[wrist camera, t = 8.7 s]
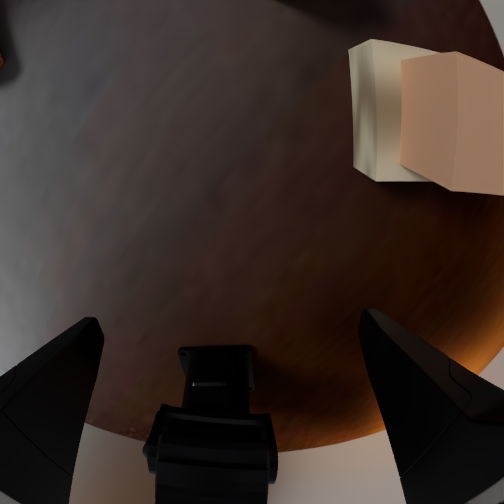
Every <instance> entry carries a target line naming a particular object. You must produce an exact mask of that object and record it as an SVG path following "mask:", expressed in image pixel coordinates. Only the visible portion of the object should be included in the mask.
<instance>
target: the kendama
mask: <svg viewBox="0 0 504 504" xmlns="http://www.w3.org/2000/svg"><path fill="white" fill-rule="evenodd" d="M3 65H4V60H3V58H2V55H1V53H0V68H1V67H2V66H3Z"/></svg>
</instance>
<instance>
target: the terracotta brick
mask: <svg viewBox="0 0 504 504" xmlns="http://www.w3.org/2000/svg"><path fill="white" fill-rule="evenodd" d="M401 84H402V113H401V141H400V158H399V164H400V165H402V166H404V167H406V168H408V169H410V170H412V171H414V172H416V173H418V174H420V175H422V176H424V177H426V178H428V179H430V180H432V181H434V182H436V183H437V184H439V185H441V186H443V187H445V188H447V189H448V190H450V191H460V192H473V193H485V194H495V195H504V72H503V71H501V70H499V69H497V68H495V67H492V66H490V65H488V64H486V63H483V62H481V61H479V60H476V59H474V58H471V57H469V56H466V55H464V54H461V53H459V52H449V53H441V54H434V55H427V56H421V57H415V58H409V59H404V60H401Z"/></svg>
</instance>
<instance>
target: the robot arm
mask: <svg viewBox="0 0 504 504" xmlns="http://www.w3.org/2000/svg"><path fill="white" fill-rule="evenodd" d="M358 333H359V338H360V342H361V346H362V351H363V355H364V360H365V364H366V368H367V372H368V376H369V379H370V382H371V384H372V387H373V390H374V393H375V396H376V399H377V402H378V405H379V409H380V412H381V415H382V418H383V421H384V424H385V428H386V431H387V434H388V436H389V441H390V444H391V447H392V451H393V454H394V458H395V462H396V465H397V468H398V472H399V476H400V477H401V478H400V481H401V484H402V488H403V492H404V496H405V500H406V504H504V390H503V389H501V388H499V387H497V386H495V385H494V384H492V383H490V382H488V381H487V380H485V379H483V378H481V377H479V376H478V375H476V374H474V373H473V372H471V371H469V370H468V369H466V368H465V367H463V366H462V365H460V364H458V363H457V362H456V361H454V360H453V359H451V358H449V357H448V356H447V355H445V354H444V353H442V352H441V351H439V350H438V349H436V348H435V347H433V346H432V345H430V344H429V343H427V342H426V341H424V340H423V339H421V338H420V337H418V336H417V335H415V334H414V333H412V332H411V331H409V330H408V329H406V328H405V327H403V326H402V325H400V324H399V323H397V322H396V321H394V320H393V319H391V318H390V317H388V316H387V315H385V314H384V313H382V312H381V311H379V310H378V309H376V308H367V309H364V310H363V311H362V315H361V319H360V324H359V328H358ZM103 345H104V334H103V332H102V330H101V327H100V325H99V322H98V320H97V319H96V318H95V317H85V318H83V319H82V320H80V321H79V322H77V323H76V324H74V325H73V326H71V327H70V328H68V329H67V330H66V331H64V332H63V333H61V334H60V335H58V336H57V337H55V338H54V339H53V340H51V341H50V342H48V343H47V344H45V345H44V346H42V347H41V348H40V349H38V350H37V351H35V352H34V353H33V354H31V355H30V356H28V357H27V358H26V359H24V360H23V361H21V362H20V363H19V364H17V366H14V367H13V368H12V369H10V370H9V371H7V372H6V373H5V374H3V375H2V376H0V504H69V497H70V491H71V485H72V479H73V477H72V476H73V473H74V467H75V462H76V457H77V453H78V448H79V443H80V439H81V434H82V430H83V426H84V422H85V418H86V414H87V411H88V407H89V403H90V400H91V396H92V392H93V389H94V386H95V382H96V378H97V374H98V369H99V364H100V359H101V354H102V349H103ZM244 350H246V351H244ZM183 352H184V353H183ZM178 356H179V359H180V362H181V365H182V368H183V371H184V374H185V376H186V383H185V389H184V395H183V401H182V408H180V407H173V406H169V405H167V404H162V405H161V408H160V411H158V412H157V414H156V416H155V421H154V424H153V427H152V430H151V433H150V436H149V437H148V439H147V441H146V443H145V445H144V447H143V454H144V456H145V457H146V458H147V461H148V468H149V472H150V474H154V475H156V478H155V481H156V482H155V500H156V502H155V504H267V497H268V484H274V483H275V480H276V477H277V470H278V452H277V445H276V440H275V436H274V431H273V426H272V421H271V416H270V414H268V413H263V414H250V412H249V392H250V391H253V390H254V389H255V385H254V375H253V366H252V356H251V348H250V347H249V346H247V345H240V346H216V347H181V348H179V350H178Z"/></svg>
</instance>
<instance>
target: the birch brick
mask: <svg viewBox="0 0 504 504" xmlns="http://www.w3.org/2000/svg"><path fill="white" fill-rule="evenodd" d="M434 54H441V53H438V52H434V51H430V50H426V49H422V48H418V47H413V46H408V45H403V44H398V43H393V42H387V41H380V40H374V39H370V40H368V41H366V42H364V43H362V44H360V45H357V46H355V47H353V48H351V49H349V61H350V73H351V87H352V105H353V137H354V168H356V169H357V170H359V171H361V172H362V173H364V174H365V175H367V176H368V177H370V178H371V179H373V180H375V181H432V180H430V179H428V178H426V177H424V176H422V175H420V174H418V173H416V172H414V171H412V170H410V169H408V168H406V167H404V166H402V165H400V164H399V158H400V141H401V113H402V84H401V60H404V59H409V58H415V57H421V56H427V55H434Z"/></svg>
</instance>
